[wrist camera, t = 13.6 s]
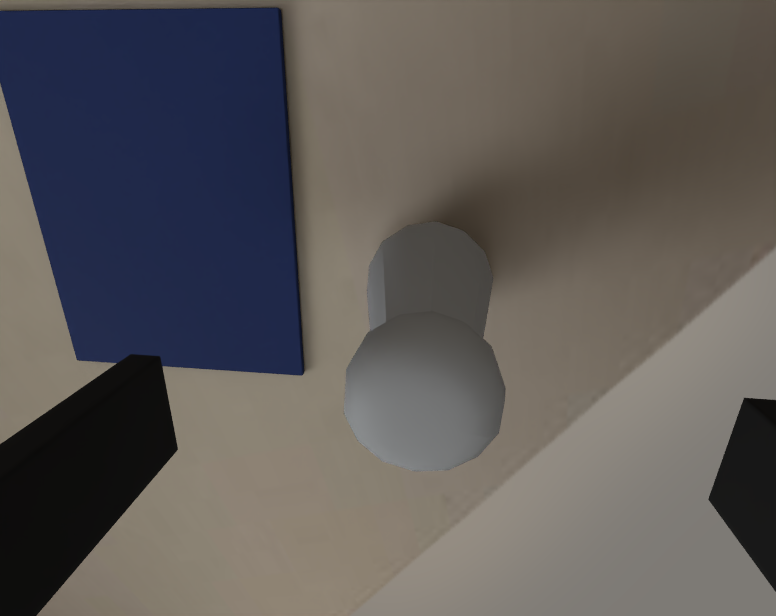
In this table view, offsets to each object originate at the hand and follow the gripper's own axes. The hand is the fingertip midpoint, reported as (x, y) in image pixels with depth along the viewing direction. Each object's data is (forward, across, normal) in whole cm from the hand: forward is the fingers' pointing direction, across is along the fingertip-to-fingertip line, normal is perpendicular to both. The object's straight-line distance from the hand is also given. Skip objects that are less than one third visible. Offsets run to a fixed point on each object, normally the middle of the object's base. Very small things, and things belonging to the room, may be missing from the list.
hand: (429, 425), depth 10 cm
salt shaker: (+14, 0, 0) cm, 14 cm away
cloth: (+13, -14, +2) cm, 20 cm away
